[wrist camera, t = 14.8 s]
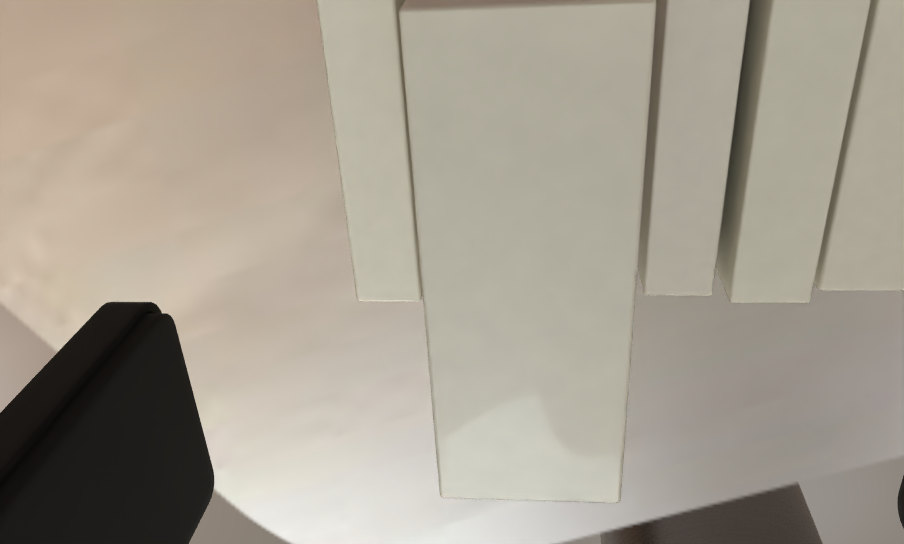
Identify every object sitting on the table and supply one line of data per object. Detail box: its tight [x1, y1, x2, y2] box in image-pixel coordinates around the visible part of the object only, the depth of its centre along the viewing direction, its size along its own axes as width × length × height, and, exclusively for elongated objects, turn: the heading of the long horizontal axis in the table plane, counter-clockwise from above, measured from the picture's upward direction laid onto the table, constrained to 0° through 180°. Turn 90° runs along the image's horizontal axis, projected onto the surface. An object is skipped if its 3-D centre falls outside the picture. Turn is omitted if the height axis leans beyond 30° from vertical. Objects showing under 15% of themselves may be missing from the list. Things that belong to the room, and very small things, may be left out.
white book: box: [399, 0, 657, 503], centre depth 16 cm, size 3×8×11 cm, turn 3°
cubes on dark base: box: [317, 0, 904, 303], centre depth 18 cm, size 16×9×6 cm, turn 93°
